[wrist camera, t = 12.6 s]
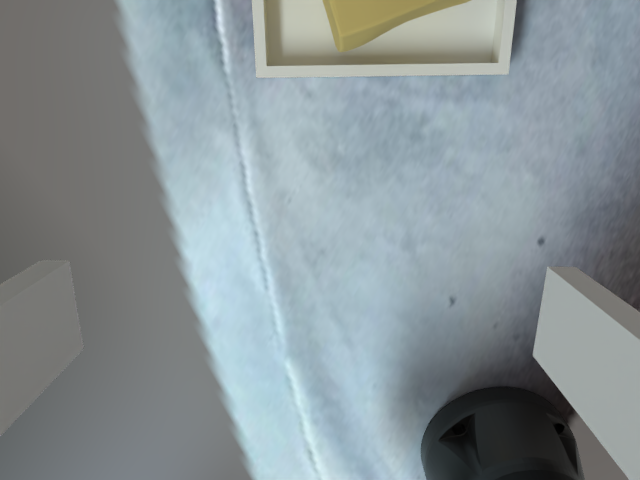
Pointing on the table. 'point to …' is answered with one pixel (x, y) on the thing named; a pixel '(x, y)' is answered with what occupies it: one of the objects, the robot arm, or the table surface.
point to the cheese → (375, 17)
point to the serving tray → (384, 42)
